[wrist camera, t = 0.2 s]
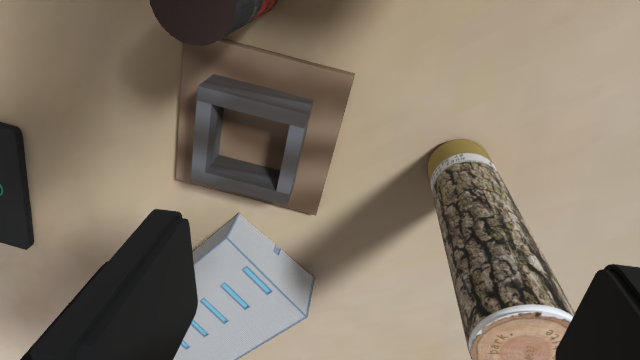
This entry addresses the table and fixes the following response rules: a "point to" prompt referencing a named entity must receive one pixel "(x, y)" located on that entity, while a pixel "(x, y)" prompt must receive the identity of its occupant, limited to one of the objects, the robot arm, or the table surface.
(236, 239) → the warehouse
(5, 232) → the smart home device
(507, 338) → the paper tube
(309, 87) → the holder
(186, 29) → the deodorant
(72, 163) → the table surface
